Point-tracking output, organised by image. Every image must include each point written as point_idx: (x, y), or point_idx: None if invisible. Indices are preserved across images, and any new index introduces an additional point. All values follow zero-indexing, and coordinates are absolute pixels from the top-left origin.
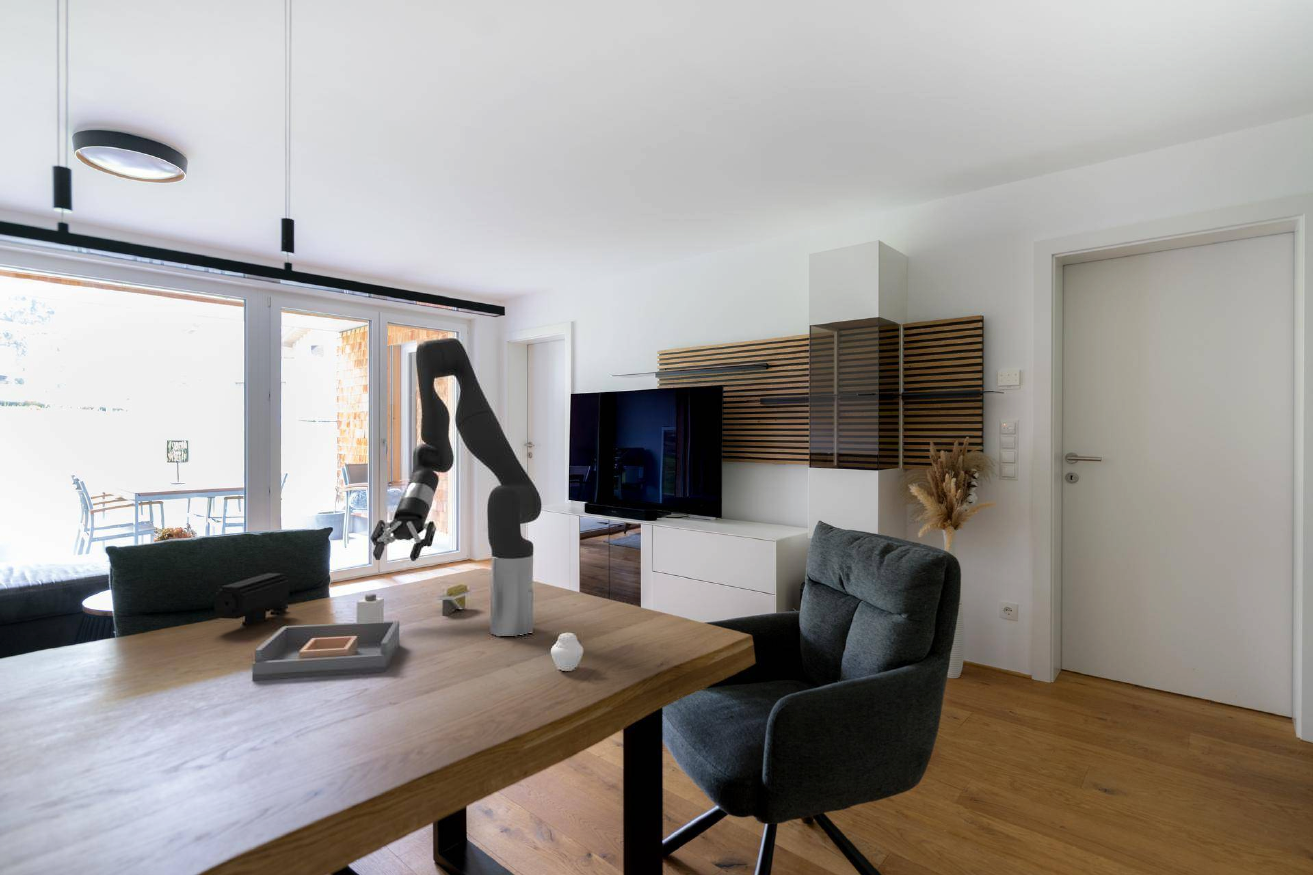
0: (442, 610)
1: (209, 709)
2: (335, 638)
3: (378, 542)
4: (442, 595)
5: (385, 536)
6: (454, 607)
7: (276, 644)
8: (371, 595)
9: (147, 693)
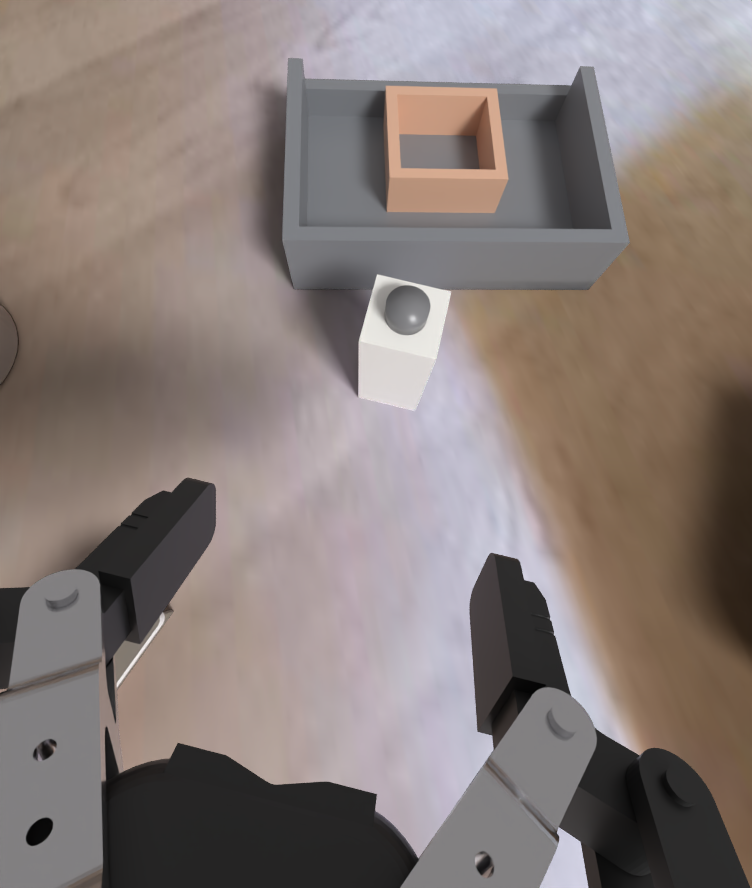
0: (164, 613)
1: (562, 21)
2: (444, 170)
3: (555, 696)
4: (134, 646)
5: (509, 768)
6: None
7: (585, 174)
8: (403, 300)
9: (716, 100)
